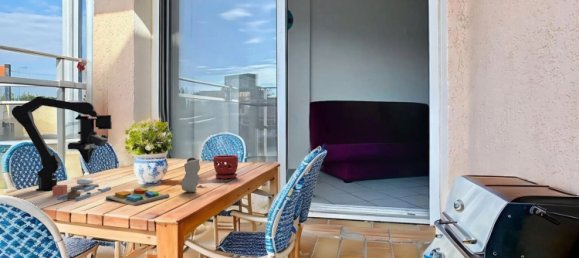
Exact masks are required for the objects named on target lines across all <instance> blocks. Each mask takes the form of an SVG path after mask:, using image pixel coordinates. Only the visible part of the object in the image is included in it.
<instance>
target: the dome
mask: <svg viewBox="0 0 579 258" xmlns="http://www.w3.org/2000/svg"><path fill="white" fill-rule="evenodd" d="M93 183H94V179H93V177H84V178H83V177H82V178H77V179H76V184H77V185H81V184H83V185H86V184H93Z"/></svg>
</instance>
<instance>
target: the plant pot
mask: <svg viewBox="0 0 579 258" xmlns="http://www.w3.org/2000/svg"><path fill="white" fill-rule="evenodd" d="M212 158H213V167H214V170H215V171H214V172H215V174H214V175H215V177H216V178H217V179H218V178H221V180H228V179H227V178H233V179H235V178H236V177H237V176H238V173H236V172H237V170H238V167H239V156H238V155H235V154H234V155H233V154H226V155H225V154H224V155H221V154H220V155H215V156H213V157H212ZM234 177H235V178H234Z"/></svg>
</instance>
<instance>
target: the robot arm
mask: <svg viewBox="0 0 579 258" xmlns="http://www.w3.org/2000/svg"><path fill="white" fill-rule="evenodd" d="M43 106H44V107H50V108H56V109H62V110H68V111H72V112H74V113H75V112H76V113H78V115H77V116H76V117H75V118H74V119H75V120H78V121H79V131H77V134H78V135H80V136H79V137H80V138H79V139H80V140H78V141H77V142H75V141H74V142H69V143H68V144H67V150H76V151H78V152H79V154H80V156H81V157H82V159H83V160H84V163H85V164H89V163H90V161H91V158H92V156H93V153H94V151H96V150H98V147H105V146H106V143H107V142H108V141H109V138H108V135H107V134H102V135H99V134H98V133H97V131H95V128H97V129H98V130H112V128H113V121H112V115H111V114H107V115H105V114H104V115H103V114H100V115H99V113H98V112H97V111H96V110H95V105H94V104H93V103H91V102H88V101H87V102H86V101H85V102H84V101H75V102H74V101H68V100H67V101H66V100H60V99H55V98H49V97H48V98H47V97H44V96H36V97H35V98H33V99H31V100H30V101H27V102H25V103H23V104H22V105H16V106H14V107H13V108H12V109H11V115H12V116H13V118H14V119H15V120H16V121H17V123H19V124H20V126H22V127H23V128H24V130H25V132H26V134H27V135H28V137H29V138H30V141H31V143H32V144H33V145H34V147H35V149H36V151H37V153H38V154H39V157H40V162H41V166H42V168H41V169H40V170H39V171H38V172H37V177H38V181H37V182H38V188H35V190H36V191H44V192H45V191H53V190H52V187H54V186H56V185H58V178H57V175H56V172H57V171H58V170H60V168H61V166H62V163H61V162H62V160H61V159H60V158H59V155H58V153H53V152H52V151H51V150H50V148H49V147H48V144H47V143H46V142H45V140H44V137H43V136H42V134H41V132H40V131H39V128H38V127H37V125H36V123H35V120H34V119H35V118H34V114H33V112H35V111H36V110H38V109H40V108H41V107H43ZM81 114H82V115H81ZM88 115H89V116H90V117H91V118H90V117H89V116H88ZM97 146H98V147H97Z"/></svg>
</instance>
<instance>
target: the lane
mask: <svg viewBox="0 0 579 258" xmlns="http://www.w3.org/2000/svg"><path fill="white" fill-rule="evenodd" d="M95 188H96V187H95V186H91V187H87V188H80V190H77V191H80V194H83V193H85V194H83V195H80V196H79V197H76V198H75V199H74V201H76V202H77V201H81V200H85V199H87V198H91V197H94V196H96V195H99V194H103V193H106V192H109V191H111V190H112V188H111V186H107V187H103V188H98V189H97V190H95ZM92 190H93V191H92ZM91 191H92V192H91ZM64 198H65V199H68V193H67V194H64V195H61V196H56V200H58V201H61V199H62V200H64Z"/></svg>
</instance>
